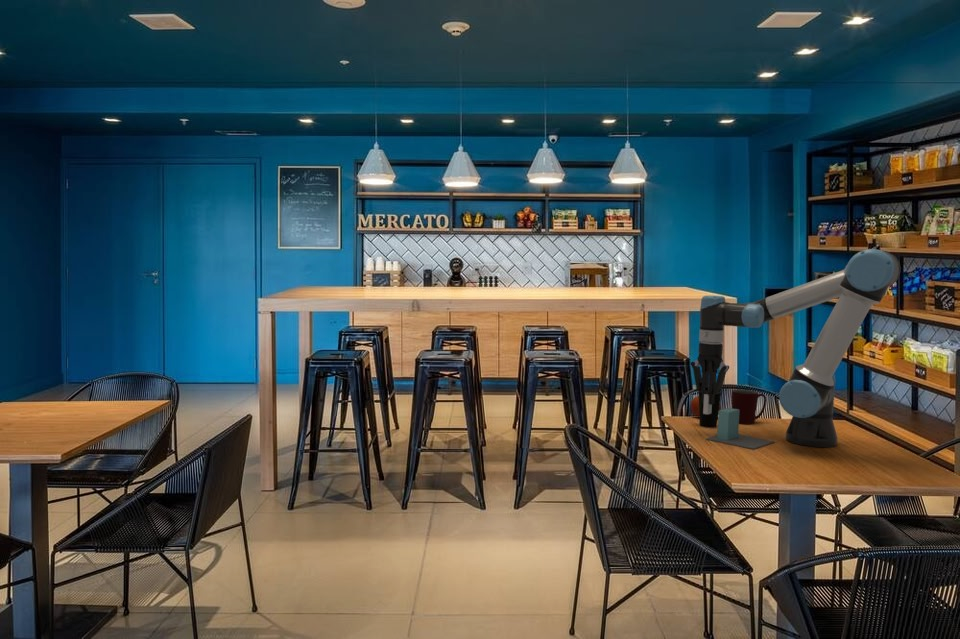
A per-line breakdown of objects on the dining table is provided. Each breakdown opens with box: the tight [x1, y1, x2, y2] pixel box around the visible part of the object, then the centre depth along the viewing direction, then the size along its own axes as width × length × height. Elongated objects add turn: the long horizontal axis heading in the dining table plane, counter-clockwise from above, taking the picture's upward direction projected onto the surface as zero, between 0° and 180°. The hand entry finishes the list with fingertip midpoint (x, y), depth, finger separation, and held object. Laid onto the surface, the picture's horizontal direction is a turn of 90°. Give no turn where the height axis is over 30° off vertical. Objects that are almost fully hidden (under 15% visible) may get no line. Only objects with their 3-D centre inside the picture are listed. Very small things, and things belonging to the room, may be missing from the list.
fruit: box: [690, 395, 722, 417], centre depth 269 cm, size 11×10×8 cm
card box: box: [716, 407, 740, 440], centre depth 236 cm, size 4×7×9 cm, turn 133°
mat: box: [705, 433, 775, 451], centre depth 234 cm, size 14×16×1 cm
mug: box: [731, 389, 767, 425], centre depth 262 cm, size 12×9×11 cm
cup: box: [697, 389, 722, 429], centre depth 255 cm, size 8×8×12 cm
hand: (707, 413), depth 242 cm, fingers closed
